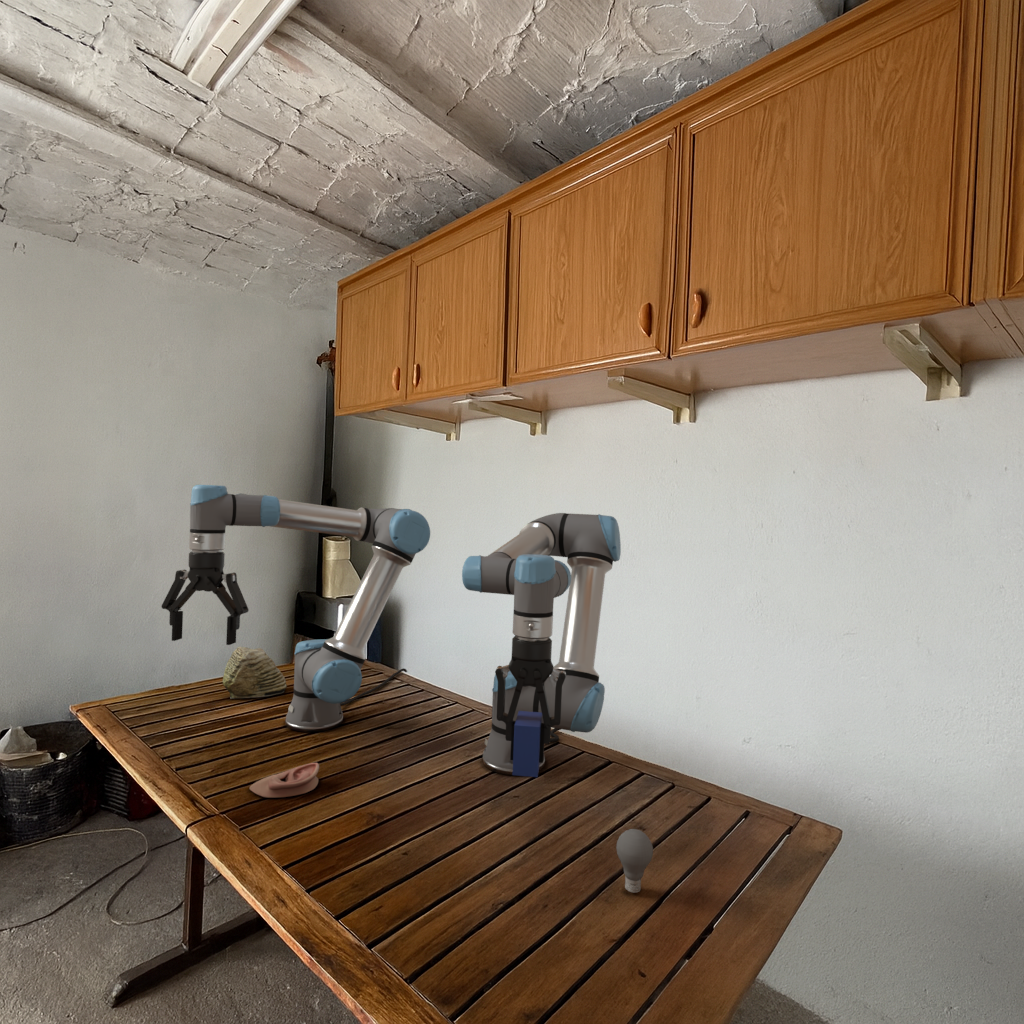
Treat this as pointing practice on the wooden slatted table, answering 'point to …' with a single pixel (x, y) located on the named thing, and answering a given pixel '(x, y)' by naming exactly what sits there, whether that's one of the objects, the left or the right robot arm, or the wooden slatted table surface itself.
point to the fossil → (252, 674)
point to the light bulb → (634, 857)
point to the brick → (527, 744)
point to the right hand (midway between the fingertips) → (527, 758)
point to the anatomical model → (288, 782)
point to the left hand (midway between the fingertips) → (203, 641)
